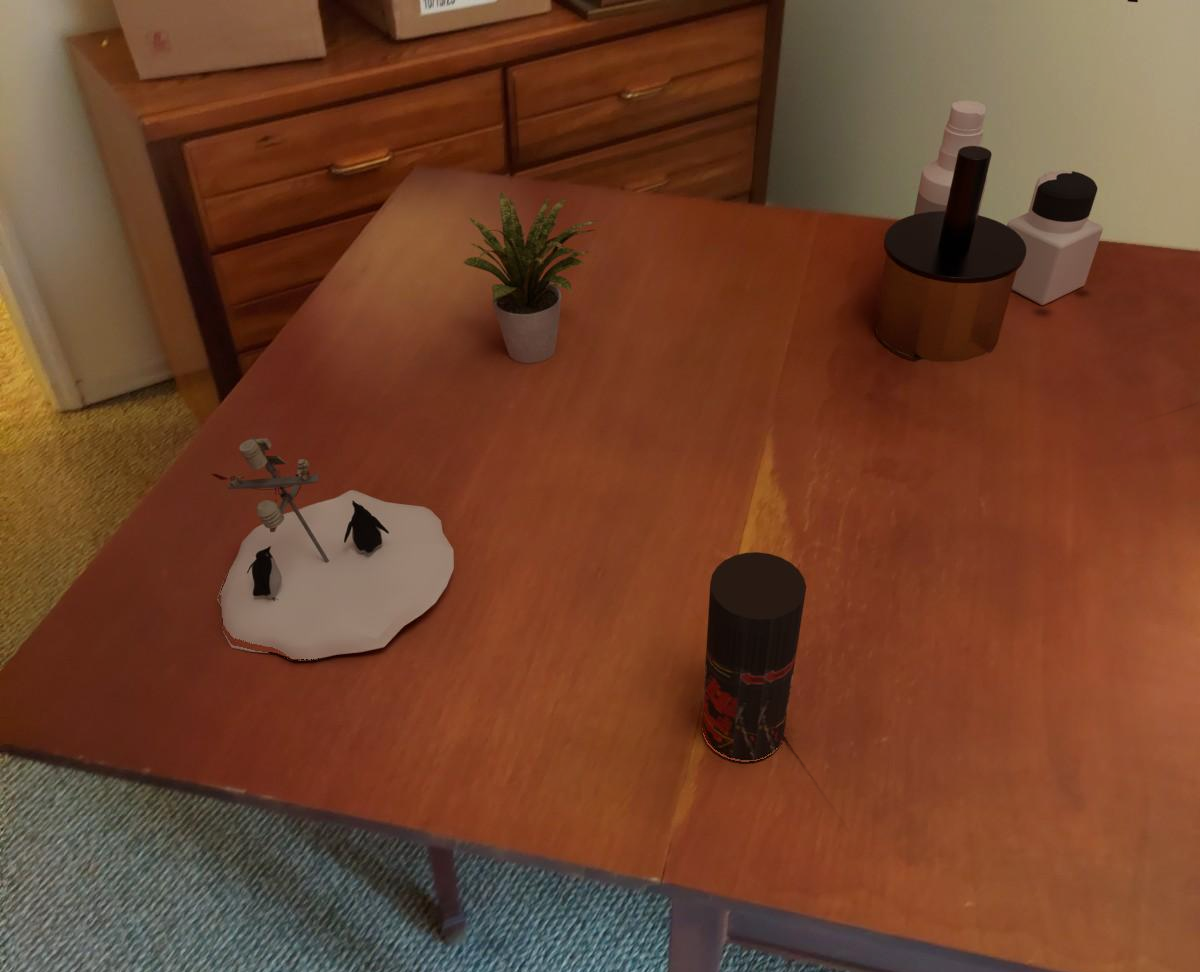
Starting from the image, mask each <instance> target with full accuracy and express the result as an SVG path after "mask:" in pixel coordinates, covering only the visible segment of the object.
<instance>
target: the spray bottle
mask: <svg viewBox="0 0 1200 972" xmlns="http://www.w3.org/2000/svg"><path fill="white" fill-rule="evenodd" d="M986 109H987V108H986V105H985V104H984V103H982V102H980V101H976V100H971V99H970V100H969V99H963V100H958V101H955V102H953V103H952V104H951V107H950V111H949V117H948V121H947V122H946V125H945V127H944V131H943V136H942V140H941V144H940V147H939V151H938V157H937V159H936V160H933V161H930V162H929V163H927V164H926V165H925V166H924V168H923V169H922V171H921V175H920V180H919V185H918V190H917V196H916V200H915V206H914V212H913V215H915V214H919V213H925V212H935V211H946V207H947V203H948V198H949V193H950V188H951V184H952V179H953V174H954V170H955V165H956V160H957V155H958V151H959V150H960V149H961V148H963V147H966V146H979V147H981V144H982V140H983V135H984V130H985V129H984V120H985V115H986ZM987 182H988V176H987V177H986V181H985V185H984V189H983V194H982V198H981V202H980V206H979V211H978V215H980V212H981V208H982V203H983V199H984V194H985V190H986V186H987Z"/></svg>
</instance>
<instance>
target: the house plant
mask: <svg viewBox="0 0 1200 972" xmlns="http://www.w3.org/2000/svg"><path fill="white" fill-rule="evenodd" d="M549 197H550V195H548V196H547V197H546V198H545V200H544V202H543V203H542V204H541V207H540V209H539V211H538V213H537V215H536V217H535V218H534V221H533V222H532V224H531V226H530V228H529V231H528V234H527V237H526V241H525V238H524V236H525V235H526V233H523V232H524V231H523V227H522V224H521V221H520V219H519V216H518V214H517V209H516V205H515V203H514V202H513V199H512V196H510V197H509V200H508V197H507V196H506V195H505V194H504V193H503V192H502V190H501V191H500V193H499V207H500V209H499V210H500V217H501V224H502V230H498V229H488V228H487V226H485V225H484V224H482V223H481V222H480V221H478V220H475V219H473V218H471V217H468V219H469V221H470V222H471V223H472V224H473V225H474V226H475V227H476V228H478V230H479V231H480V233H481V235H482V236H483V237H484V238H482V237H479V239H480V240H481V241H484V243H485V244H486V245H488V246H489V247H490V248H491V249H492V250H486V249H485V248H483V247H482V246H481V245H479V244H477V243H473V242H471V243H470V245H472V246H474V247H475V248H478V249H480V250H481V251H482V252H481V253H480V254H479V255H478V256H472V257H468V258H466V259H464V260H463V261H462V262H461V264H465V265H466V266H470V267H473V268H476V269H480V270H483V271H486V272H487V273H491V274H492V275H493V276H495V277H496V278H498V280H500V282H501V283H496V284H493V285H492V286H491V289H492V299H491V301H492V307H493V309H494V312H495V315H496V318H497V321H498V325H499V327H500V331H501V334H502V338H503V340H504V344H505V347H506V351H507V354H508V357H509V358H510V359H512V360H514V361H515V362H518V363H521V364H537V363H541V362H544V361H547V360H549V359H550V358H551V357H553V355H554V354H555V353H556V350H557V343H558V342H557V341H558V334H559V333H558V332H559V324H560V315H561V305H562V292H561V290H560V289H559V288H561V289H563V290H564V288H565V289H566V290H567V291H569V292H570V293H571V295H572V296H574V293H573V288H572V284H571V282H570V281H569V280H568V279H567V278H566V277H564V276H562V275H557V274H558V273H561V272H563V271H565V270H568V269H570V268H572V267H575V266H578V265H580V264H581V265H586V263H585V262H584V261H582V260H580V259H579V258H577V257H578V256H582V255H584V254H588V253H590V252H592V251H590V250H588V251H586V250H585V251H582V250H581V251H577V250H575V249H572V248H569V247H565V246H564V245H563V244H564V243H566V242H567V241H568V240H569V239H571V238H573V237H574V236H577V235H581V234H582V235H583V234H585V233H590V232H594V231H595V229H589V230H588V229H587V230H578V229H580V228H583V227H585V226H589V225H592V224H595V223H597V222H598V220H591V221H585V222H581V223H578V224H575V225H573V226H571V227H569V228H567V229H566V230H564V231H562V232H561V233H559V234H558V235H557V236H555V237H553V238H550V239H549V236H551V235H550V234H551V233H552V231H553V229H554V227H555V226H556V223H557V218H558V214H559V212H560V210H561V209H562V207H563V206H564V204H565V202H566V200H567V199H568V197H566V198H563V199H561V200H560V201H558V202H557V203H556V204H554V205H553V207H552V208H551V209H550V210H549V211H548V212H547V208H548V205H549ZM546 212H547V213H546ZM493 231H494V232H499V233H500V234H501V235H503V236H502V237H503V244H504V246H505V247H503V246H502V245H501V243H500V242H499V240H498V238H497V237H496V236H495V235H494V234H493ZM552 248H553V249H552ZM551 250H552V251H551ZM550 251H551V252H550ZM490 252H491V253H493V254H494V255H495V256H497V257H498V259H499V260H500V262H499V260H497V259H496V257H494V255H492V254H491V253H490ZM549 252H550V253H549ZM548 253H549V254H548ZM547 254H548V255H547ZM569 254H570V255H569ZM484 255H486V256H488V257H489V258H491V259H492V260H493V261H494V262H495V263H496V264H497V265H498V266H499V268H500V269H499V268H498V267H497V266H496V265H495V264H493V263H491V262H490V261H488V260H486V259H484V258H481V257H482V256H484ZM546 255H547V256H546ZM564 255H568V256H567V257H566V258H563V259H561V260H559V261H558V262H556V263H555V264H553V265H552V266H551V267H550V268H549V269H548V270H547V271H545V270H546V269H547V267H548V266H549V265H550V264H551V263H552V262H553V261H554V260H555V259H557V258H559V257H561V256H564ZM545 256H546V257H545ZM544 272H545V273H544ZM542 275H543V276H542ZM551 282H552V283H551ZM502 283H503V284H502Z"/></svg>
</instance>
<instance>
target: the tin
mask: <svg viewBox="0 0 1200 972" xmlns="http://www.w3.org/2000/svg"><path fill="white" fill-rule="evenodd" d="M885 254H886V255H885V259H884V264H883V265H884V266H883V270H882V271H883V272H882V277H881V283H880V289H879V294H878V299H877V306H876V310H875V311H876V312H875V317H874V321H873V323H874V332H875V336H876V337H877V339H878V341H879V342H880V343H881V344H882V345H883V346H884V347H885V348H886V349H887V350H889V351H890V352H892V354H895V355H897V356H899V357H901V358H903V359H906V360H908V361H912V362H919V361H921V360H926V361H932V362H937V363H939V362H941V363H943V362H944V363H945V362H964V361H968V360H970V359H974V358H977V357H981V356H984V355H986V354H990V353H991V352H992V351H993V350H994V349H995V347H996V346H997V343H998V341H999V337H1000V333H1001V330H1002V325H1003V322H1004V318H1005V314H1006V312H1007V308H1008V305H1009V301H1010V297H1011V293H1012V291H1013V290H1012V286H1013V283H1014V279H1015V275H1016V272H1017V270H1016V271H1015V272H1013V273H1012V274H1010V275H1008V276H1006V277H1003V278H1000V279H997V280H993V281H988V282H982V283H950V282H942V281H937V280H932V279H928V278H925V277H922V276H919V275H916V274H913V273H911V272H909V271H907V270H905V269H903V268H901V267H900V266H898V265H897V264H896V263H895V262H893V261H892V260H891V259H890V257H889V256H888V255H887V253H885Z"/></svg>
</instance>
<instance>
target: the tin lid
mask: <svg viewBox="0 0 1200 972" xmlns="http://www.w3.org/2000/svg"><path fill="white" fill-rule="evenodd" d="M991 159H992V151H991V150H990V149H988V148H986V147H984V146H980V147H979V146H966V147H963V148H961V149H960V150H959V151H958V155H957V160H956V165H955V170H954V174H953V179H952V184H951V188H950V193H949V198H948V203H947V207H946V211H935V212H925V213H919V214H915V215H914V214H912V215H907V216H906V217H905V216H904V217H903V218H901V219H898V220H897V221H896V222H894V223H893V224H892V225H890V226H889V228H888V229H887V230H886V232H885V235H884V239H883V249H884V252H885V254H887V255H888V256H889V257H890V259H891V260H892V261H893V262H895V263H896V264H897V265H898V266H900V267H901V268H903V269H905V270H907V271H909V272H911V273H913V274H916V275H919V276H922V277H925V278H928V279H932V280H937V281H942V282H950V283H982V282H988V281H993V280H997V279H1000V278H1003V277H1006V276H1008V275H1010V274H1012V273H1013V272H1015V271H1016V270H1017V269H1019V268H1020V267H1021V265H1022V264H1023V262H1024V259H1025V256H1026V245H1025V243H1024V241H1023V239H1022V238H1021V237H1020V236H1019V235H1018V234H1017V233H1016V232H1015V231H1014V230H1012V229H1011V228H1010V227H1008V226H1007V224H1005V223H1002V222H1000V221H998V220H995V219H992V218H990V217H988V216H987V217H986V216H983V215H980V214H979V215H978V211H979V206H980V202H981V198H982V194H983V189H984V185H985V181H986V177H987V178H988V171H989V168H990V164H991Z"/></svg>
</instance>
